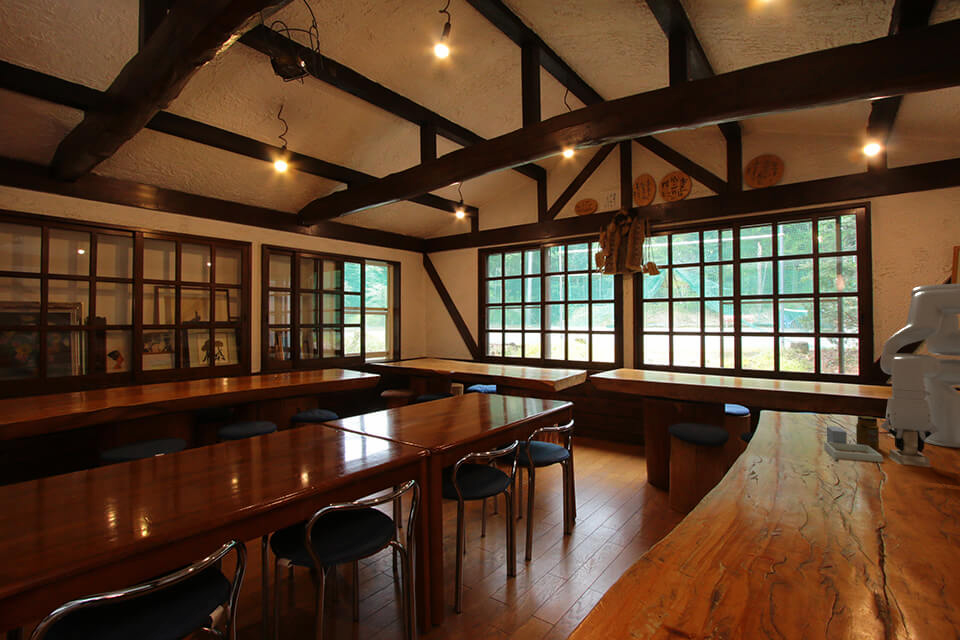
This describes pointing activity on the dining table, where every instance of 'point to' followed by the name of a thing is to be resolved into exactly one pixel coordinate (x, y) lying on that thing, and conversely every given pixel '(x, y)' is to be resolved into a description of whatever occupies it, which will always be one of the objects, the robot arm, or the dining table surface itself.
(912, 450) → the dowel
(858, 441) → the condiment
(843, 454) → the tray
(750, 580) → the dining table surface
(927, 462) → the socket block
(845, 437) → the block
